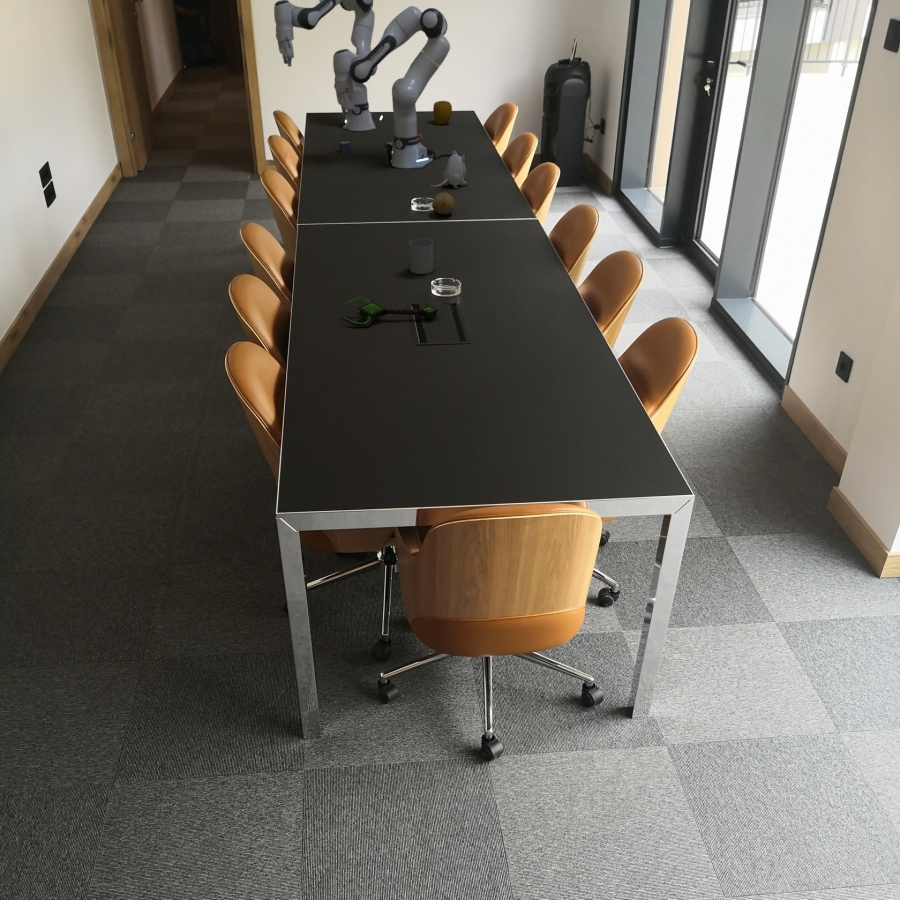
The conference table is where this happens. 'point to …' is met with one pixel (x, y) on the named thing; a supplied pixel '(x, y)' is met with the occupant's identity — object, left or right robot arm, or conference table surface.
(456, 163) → the toy
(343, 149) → the block
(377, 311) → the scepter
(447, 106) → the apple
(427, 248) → the cup
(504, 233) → the conference table surface
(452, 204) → the potato
